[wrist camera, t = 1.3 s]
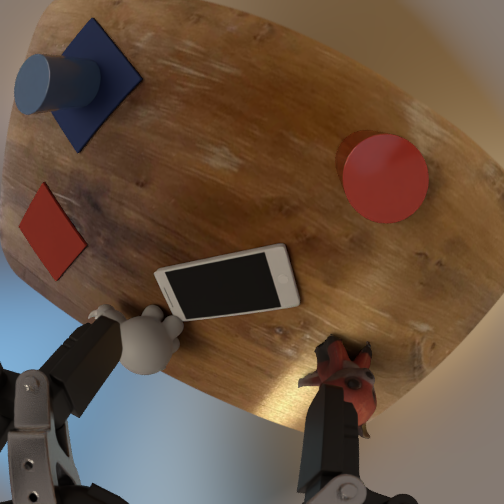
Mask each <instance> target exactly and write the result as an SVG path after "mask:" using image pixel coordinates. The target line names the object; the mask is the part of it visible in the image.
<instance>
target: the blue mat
mask: <svg viewBox="0 0 504 504" xmlns="http://www.w3.org/2000/svg"><path fill="white" fill-rule="evenodd" d="M62 56H72V57H81V58H89V59H92V60H94V61H95V62H96V63H97V65H98V66H99V69H100V73H101V82H100V87H99V90H98V93H97V95H96V96H95V98H94V99H93V101H92V102H91V103H90V104H89V105H87V106H86V107H84V108H81V109H72V110H62V111H53V112H51V113H52V114H53V116H54V118H55V119H56V121H57V122H58V124H59V126H60V127H61V129H62V130H63V132H64V133H65V135H66V137H67V138H68V140H69V141H70V143H71V144H72V146H73V147H74V149H75V150H76V152H77V153H79V152H80V151H81V150H82V148H83V147H84V146H85V145H86V143H87V142H88V141H89V139H90V138H91V137H92V136H93V134H94V133H95V132H96V131H97V129H98V128H99V127H100V126H101V125H102V123H103V122H104V121H105V120H106V119H107V117H108V116H109V115H110V114H111V113H112V112H113V111H114V109H115V108H116V107H117V106H118V105H119V104H120V103H121V102H122V101H123V99H124V98H125V97H126V96H127V95H128V94H129V93H130V92H131V91H132V90H133V89H134V88H135V87H136V86H137V85H138V84H139V83H140V82H141V81H142V80H143V79H142V77H141V76H140V75H139V74H138V72H137V71H136V70H135V69H134V67H133V66H132V65H131V64H130V62H129V61H128V60H127V59H126V57H125V56H124V55H123V54H122V52H121V51H120V50H119V49H118V47H117V46H116V45H115V44H114V42H113V41H112V40H111V39H110V37H109V36H108V35H107V34H106V33H105V31H104V30H103V29H102V28H101V26H100V25H99V24H98V23H97V21H96V20H95V19H94V18H91V19H90V20H89V21H88V22H87V24H86V25H85V26H84V27H83V28H82V30H81V31H80V32H79V33H78V34H77V36H76V37H75V38H74V39H73V41H72V42H71V43H70V45H69V46H68V47H67V48H66V50H65V51H64V52H63V54H62Z"/></svg>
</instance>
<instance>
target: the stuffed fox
mask: <svg viewBox="0 0 504 504" xmlns="http://www.w3.org/2000/svg"><path fill="white" fill-rule="evenodd" d="M330 335H332V334H330ZM366 343H367V346H366V347H364V348H363V349H362V350H361V351H360V352H359V354H358V355H357V357H356V359H355V360H354V361H351V360H350V359H349V357H348V355H347V352H346V349H345V348H344V346H343V344H342V339H340V338H338V337H335V336H333V335H332V336H329V337H328V339H327V340H325V342H324V343H322V344H320V345H319V346H317V347H316V349H315V353H316V357H317V370H316V371H315V372H314V373H313V374H308V375H306V376H305V377H304V378H300V379H299V380H298V388H299V387H302V386H319V389H320V387H321V385H322V384H323V383H325V384H330V385H335V386H341V387H343V390H344V401H346V402H352V403H353V405H354V407H355V409H356V411H357V414H358V433H359V435H360V436H361V437H363V438H370V435H369V434H368V433H367V430H366V422H367V421H368V419H369V418H370V417H371V416H372V414H373V413H374V411H375V409H376V404H377V401H376V394H375V390H374V386H373V385H374V382H375V378H374V375H373V374H372V372H371V371H370V370H369V367H370V362H371V358H372V350H371V348H370V342H368V341H367V342H366Z"/></svg>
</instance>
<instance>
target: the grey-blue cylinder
mask: <svg viewBox="0 0 504 504" xmlns="http://www.w3.org/2000/svg"><path fill="white" fill-rule="evenodd" d="M100 82H101V73H100V69H99V66H98V65H97V63H96V62H95V61H94V60H92V59H89V58H81V57H72V56H62V55H49V54H35V55H32V56H31V57H29V58H28V59H27V60H26V61H25V62H24V63H23V65H22V66H21V68H20V70H19V72H18V75H17V78H16V82H15V88H14V97H15V102H16V105H17V108H18V109H19V110H20V112H22V113H23V114H26V115H30V114H37V113H45V112H53V111H62V110H72V109H81V108H84V107H86V106H87V105H89V104H90V103H91V102H92V101H93V99H94V98H95V96H96V95H97V93H98V90H99V87H100Z"/></svg>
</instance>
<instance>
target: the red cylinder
mask: <svg viewBox="0 0 504 504" xmlns="http://www.w3.org/2000/svg"><path fill="white" fill-rule="evenodd" d="M335 166H336V171H337V174H338V177H339V179H340V182H341V184H342V187H343V189H344V192H345V194H346V197H347V199H348V201H349V203H350V204H351V205H352V207H353V208H354V209H355V210H356V211H357V212H358V213H359V214H360V215H362V216H363V217H365V218H366V219H369V220H371V221H374V222H377V223H395V222H399V221H401V220H404V219H406V218H408V217H409V216H410V215H412V214H413V213H414V212H415V211H416V210H417V209H418V208H419V207H420V205H421V204H422V202H423V200H424V198H425V196H426V193H427V190H428V183H429V174H428V168H427V165H426V162H425V160H424V158H423V156H422V154H421V153H420V151H419V150H418V149H417V148H416V147H415V146H414V145H413V144H412V143H411V142H409V141H408V140H406V139H404V138H402V137H400V136H397V135H392V134H388V133H383V132H378V131H373V130H360V131H357V132H354V133H352V134H350V135H349V136H347V137H346V138H345V139H344V140H343V141H342V142H341V144H340V146H339V147H338V150H337V153H336V157H335Z"/></svg>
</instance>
